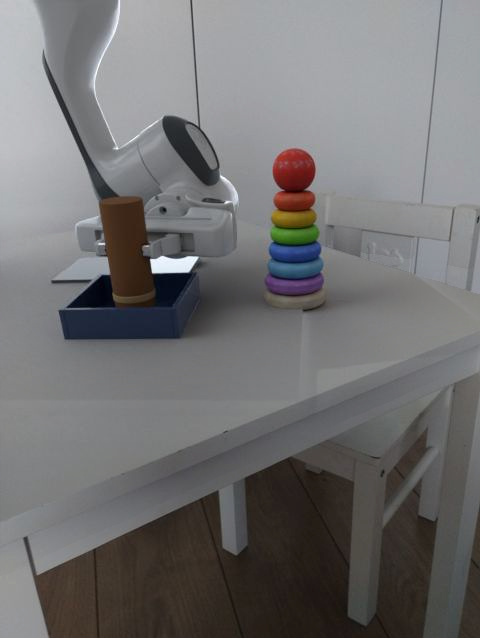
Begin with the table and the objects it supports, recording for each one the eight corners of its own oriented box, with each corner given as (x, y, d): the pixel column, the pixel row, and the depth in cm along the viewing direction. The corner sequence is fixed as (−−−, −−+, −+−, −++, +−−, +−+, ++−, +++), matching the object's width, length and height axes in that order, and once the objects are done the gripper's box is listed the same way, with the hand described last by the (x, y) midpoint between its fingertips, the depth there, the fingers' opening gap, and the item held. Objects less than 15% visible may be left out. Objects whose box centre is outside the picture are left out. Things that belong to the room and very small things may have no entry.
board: (52, 286, 84) (50, 280, 83) (82, 263, 95) (80, 257, 94) (185, 284, 82) (185, 277, 82) (200, 261, 93) (200, 255, 92)
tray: (65, 344, 64) (58, 310, 63) (104, 303, 76) (99, 273, 74) (180, 343, 63) (176, 308, 61) (201, 302, 75) (198, 272, 73)
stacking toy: (333, 309, 70) (335, 150, 62) (270, 316, 69) (263, 154, 61) (317, 289, 77) (317, 144, 70) (259, 295, 76) (253, 147, 69)
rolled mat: (111, 324, 67) (90, 204, 62) (123, 309, 72) (106, 196, 66) (152, 324, 67) (136, 203, 61) (162, 309, 71) (148, 195, 66)
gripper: (105, 199, 79) (42, 221, 67) (245, 201, 73) (202, 226, 61) (112, 244, 81) (52, 273, 69) (247, 249, 75) (207, 282, 64)
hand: (124, 251), depth 65 cm, fingers closed on rolled mat, 5 cm apart
